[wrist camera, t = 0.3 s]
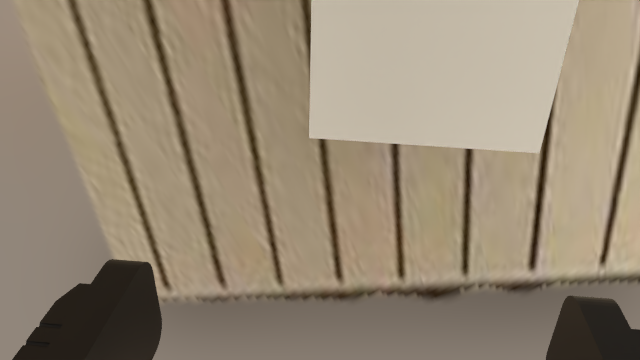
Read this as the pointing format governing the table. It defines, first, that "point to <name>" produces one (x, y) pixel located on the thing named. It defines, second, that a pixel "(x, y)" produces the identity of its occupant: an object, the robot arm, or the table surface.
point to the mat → (437, 71)
